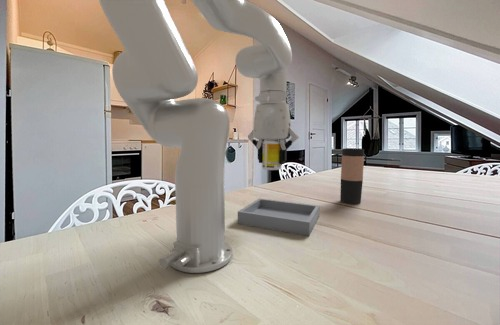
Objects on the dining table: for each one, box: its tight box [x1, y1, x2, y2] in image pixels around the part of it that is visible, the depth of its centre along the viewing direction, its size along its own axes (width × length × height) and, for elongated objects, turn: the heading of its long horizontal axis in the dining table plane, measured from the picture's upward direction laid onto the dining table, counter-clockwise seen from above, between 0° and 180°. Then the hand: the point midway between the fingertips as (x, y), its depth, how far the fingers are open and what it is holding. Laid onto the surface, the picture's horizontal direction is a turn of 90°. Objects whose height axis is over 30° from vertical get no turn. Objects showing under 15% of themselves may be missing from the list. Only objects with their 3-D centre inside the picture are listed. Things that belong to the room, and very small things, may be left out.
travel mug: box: [339, 147, 365, 205], centre depth 92 cm, size 8×8×20 cm
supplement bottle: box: [261, 139, 282, 171], centre depth 71 cm, size 6×6×10 cm
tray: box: [237, 198, 321, 237], centre depth 72 cm, size 16×20×4 cm
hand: (271, 162), depth 71 cm, fingers closed on supplement bottle, 5 cm apart
